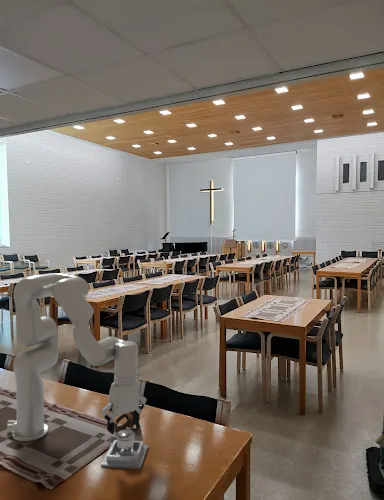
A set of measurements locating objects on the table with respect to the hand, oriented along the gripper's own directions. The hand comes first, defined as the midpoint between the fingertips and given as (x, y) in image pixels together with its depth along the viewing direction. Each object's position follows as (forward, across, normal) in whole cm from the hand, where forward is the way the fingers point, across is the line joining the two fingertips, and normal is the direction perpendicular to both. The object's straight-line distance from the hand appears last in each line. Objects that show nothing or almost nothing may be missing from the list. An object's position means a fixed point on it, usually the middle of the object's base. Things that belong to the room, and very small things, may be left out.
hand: (123, 428), depth 136 cm
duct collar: (+10, -1, +1) cm, 10 cm away
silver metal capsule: (+9, 0, +1) cm, 9 cm away
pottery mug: (+10, -10, -13) cm, 19 cm away
